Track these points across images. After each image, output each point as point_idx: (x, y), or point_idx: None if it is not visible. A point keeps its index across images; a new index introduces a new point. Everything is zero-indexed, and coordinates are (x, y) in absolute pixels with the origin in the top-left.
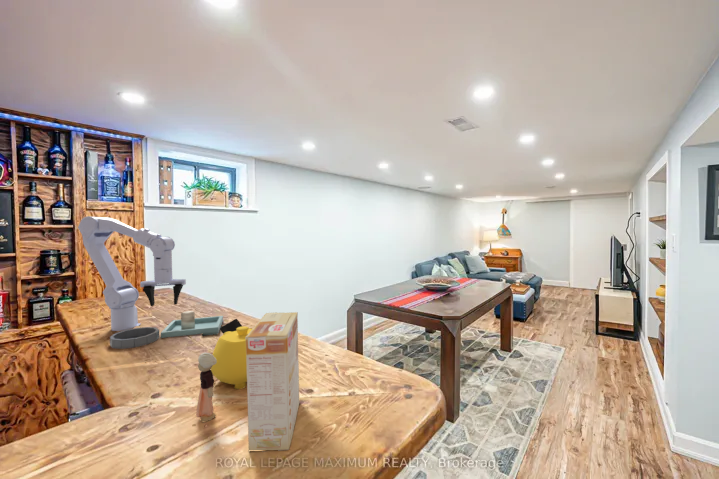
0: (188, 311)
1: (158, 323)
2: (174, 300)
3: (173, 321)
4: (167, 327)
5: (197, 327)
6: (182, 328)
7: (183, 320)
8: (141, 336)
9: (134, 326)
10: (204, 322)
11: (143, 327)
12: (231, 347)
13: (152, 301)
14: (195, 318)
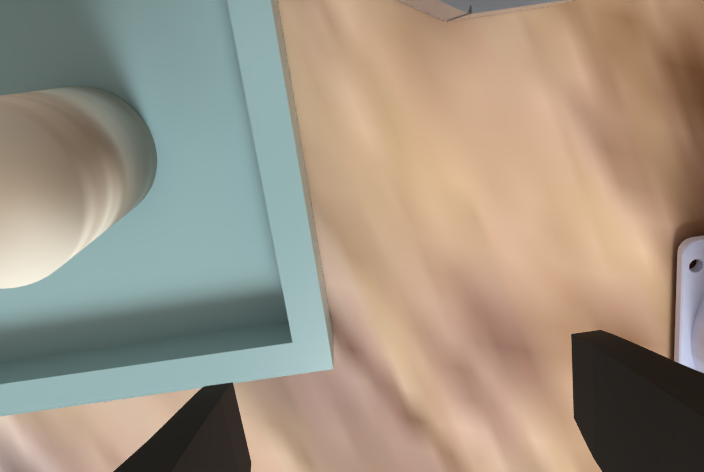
0: (17, 277)
1: (519, 461)
2: (199, 414)
3: (303, 317)
4: (260, 67)
5: None
6: (115, 100)
7: (53, 100)
8: None
9: (695, 341)
10: (18, 355)
11: (517, 3)
12: None
13: (613, 385)
14: (97, 390)
